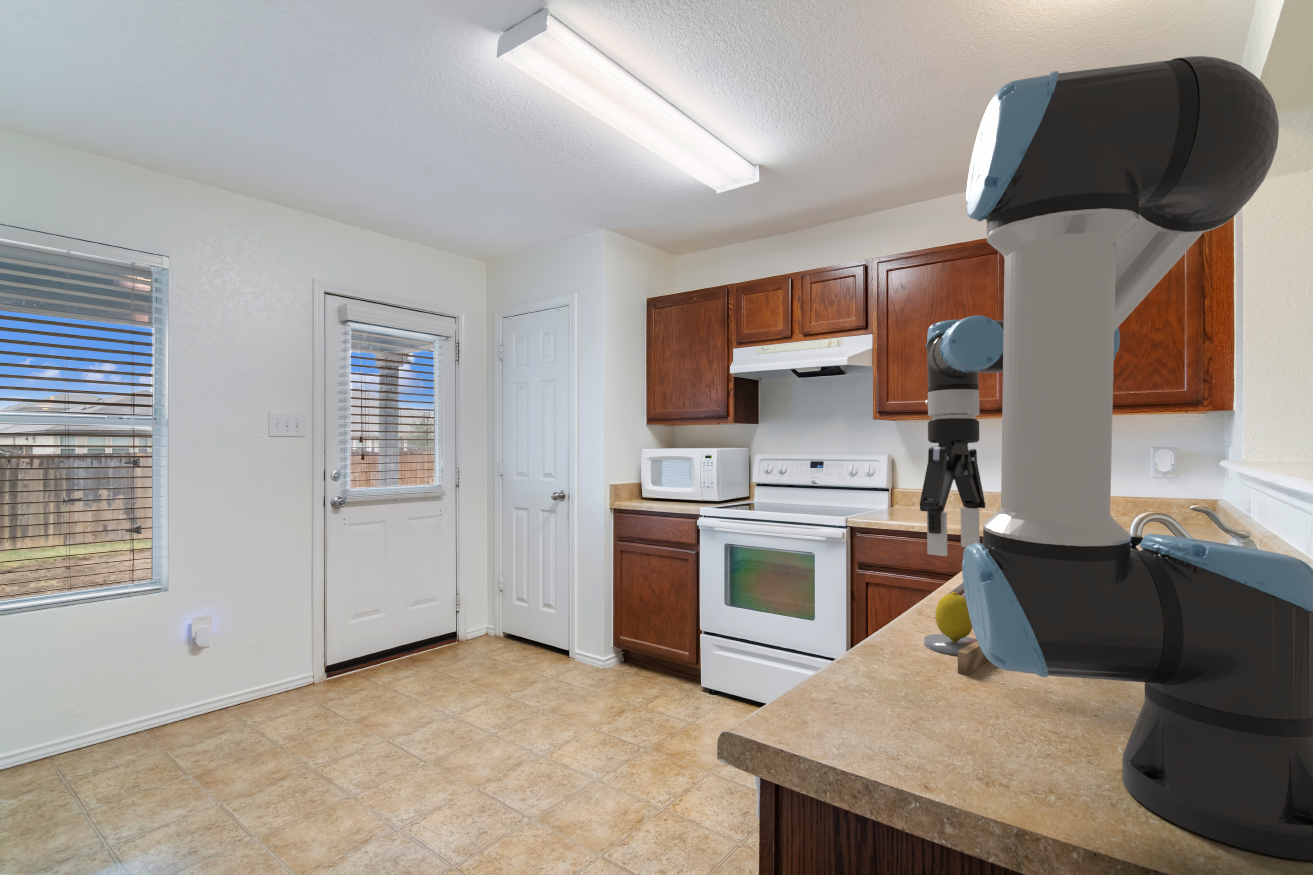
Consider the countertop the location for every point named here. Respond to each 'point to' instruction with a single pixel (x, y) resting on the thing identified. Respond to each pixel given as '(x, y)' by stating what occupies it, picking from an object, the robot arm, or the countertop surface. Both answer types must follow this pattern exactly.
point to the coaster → (946, 643)
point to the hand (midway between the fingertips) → (954, 551)
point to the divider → (970, 658)
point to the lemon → (953, 617)
